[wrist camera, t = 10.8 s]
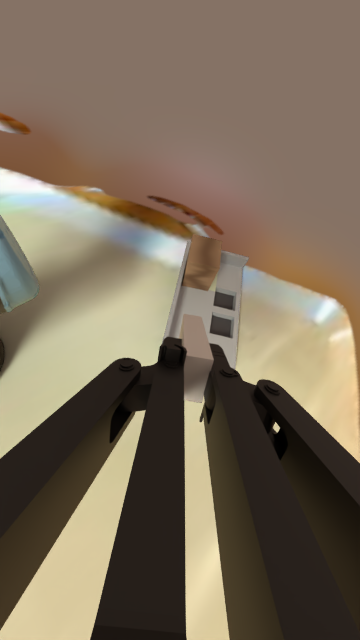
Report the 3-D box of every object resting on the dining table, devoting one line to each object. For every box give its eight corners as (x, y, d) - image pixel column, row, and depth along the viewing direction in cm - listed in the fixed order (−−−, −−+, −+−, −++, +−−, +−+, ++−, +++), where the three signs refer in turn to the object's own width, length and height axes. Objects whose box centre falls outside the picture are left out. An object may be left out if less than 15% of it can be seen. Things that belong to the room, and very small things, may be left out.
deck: (159, 353, 36) (160, 347, 31) (184, 256, 46) (187, 241, 42) (231, 370, 37) (242, 366, 32) (239, 270, 47) (248, 257, 43)
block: (181, 285, 40) (188, 261, 33) (186, 261, 43) (193, 234, 36) (207, 291, 41) (219, 268, 34) (210, 267, 44) (222, 241, 36)
